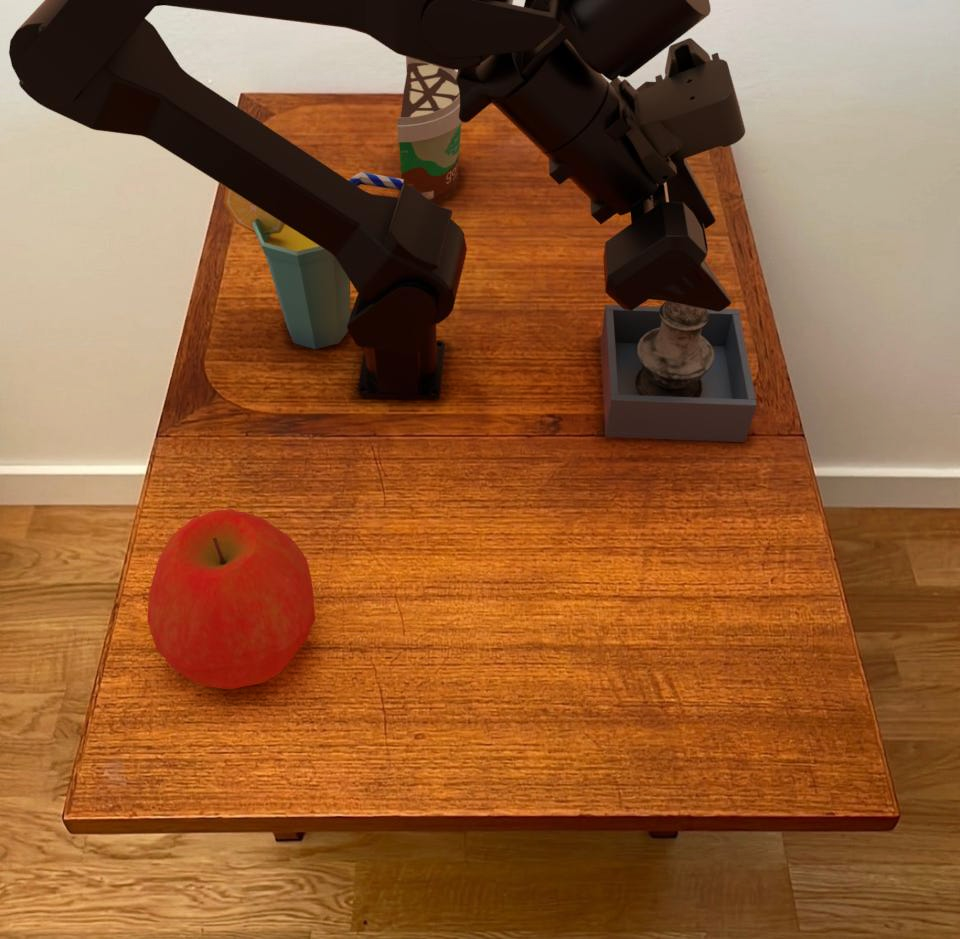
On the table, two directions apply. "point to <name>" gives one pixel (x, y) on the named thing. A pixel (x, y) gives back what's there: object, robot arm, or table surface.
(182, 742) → the table surface
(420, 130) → the food container
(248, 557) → the apple
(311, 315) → the cup
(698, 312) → the grey stone upright piece
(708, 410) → the grey open tray box
